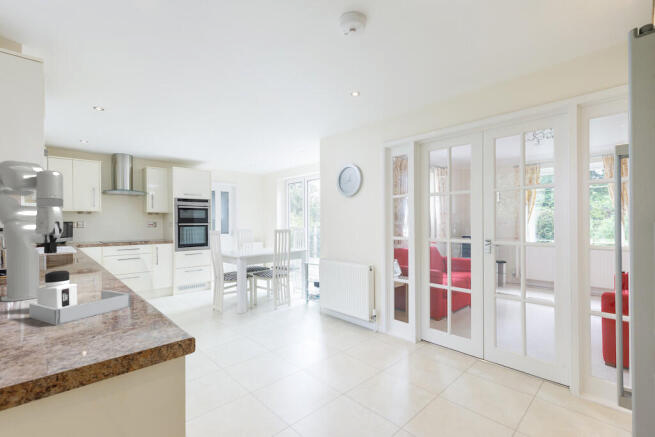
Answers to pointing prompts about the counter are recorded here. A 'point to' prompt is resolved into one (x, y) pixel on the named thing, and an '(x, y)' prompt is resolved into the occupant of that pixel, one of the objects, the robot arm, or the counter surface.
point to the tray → (80, 308)
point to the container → (57, 291)
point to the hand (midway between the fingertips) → (50, 253)
